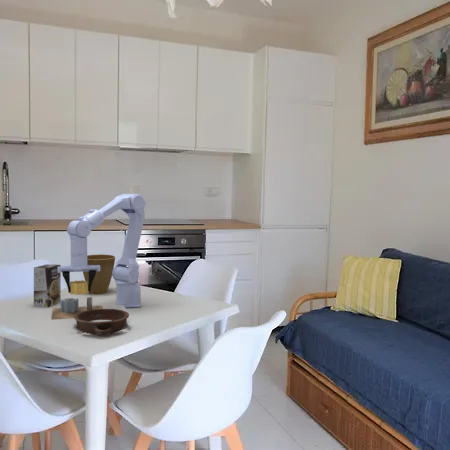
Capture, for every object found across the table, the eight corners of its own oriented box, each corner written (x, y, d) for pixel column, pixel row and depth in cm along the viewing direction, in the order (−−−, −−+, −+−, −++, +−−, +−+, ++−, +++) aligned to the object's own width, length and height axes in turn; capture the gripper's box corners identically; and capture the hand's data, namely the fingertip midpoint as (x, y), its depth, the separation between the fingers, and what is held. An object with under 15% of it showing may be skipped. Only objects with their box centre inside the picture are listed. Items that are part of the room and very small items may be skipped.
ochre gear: (88, 290, 178) (87, 280, 178) (88, 294, 172) (88, 283, 172) (70, 291, 176) (70, 280, 176) (70, 295, 170) (70, 284, 170)
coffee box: (48, 310, 181) (48, 268, 179) (33, 309, 182) (32, 267, 181) (61, 305, 190) (61, 264, 188) (46, 304, 191) (46, 263, 190)
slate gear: (78, 308, 181) (78, 297, 180) (78, 312, 175) (78, 301, 174) (60, 309, 179) (60, 298, 178) (60, 313, 173) (60, 302, 173)
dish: (123, 318, 172) (123, 305, 172) (134, 336, 152) (134, 321, 152) (71, 322, 166) (71, 308, 166) (76, 341, 146) (76, 325, 145)
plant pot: (82, 289, 220) (82, 254, 218) (115, 288, 222) (115, 254, 221) (78, 296, 205) (78, 259, 204) (114, 295, 208) (114, 258, 207)
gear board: (102, 308, 185) (102, 294, 185) (105, 319, 170) (105, 303, 170) (52, 311, 180) (52, 296, 179) (51, 322, 164) (51, 306, 164)
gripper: (57, 256, 167) (57, 295, 168) (100, 255, 172) (100, 292, 173) (57, 253, 174) (58, 290, 175) (99, 252, 178) (99, 288, 179)
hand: (79, 291), depth 174 cm, fingers closed on ochre gear, 6 cm apart
